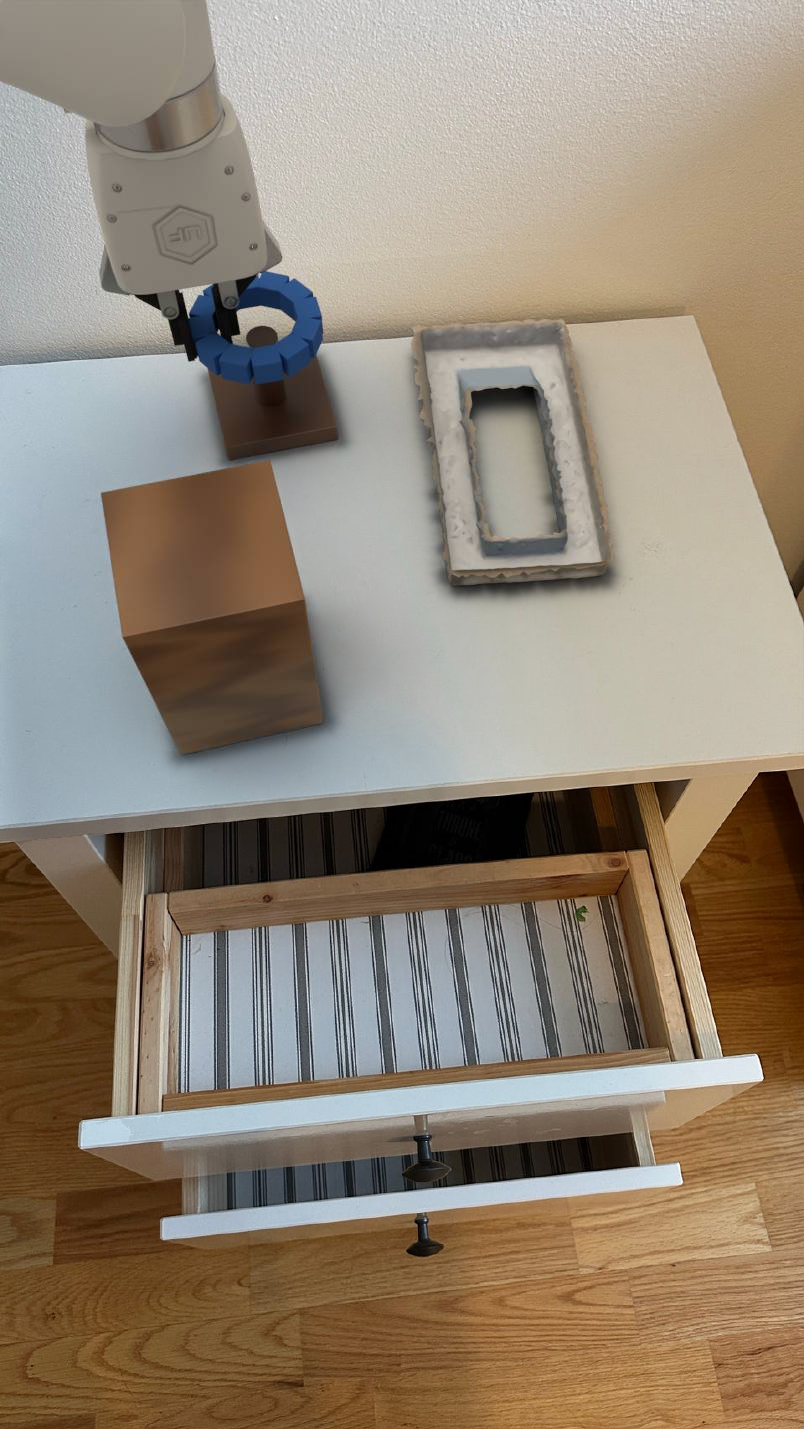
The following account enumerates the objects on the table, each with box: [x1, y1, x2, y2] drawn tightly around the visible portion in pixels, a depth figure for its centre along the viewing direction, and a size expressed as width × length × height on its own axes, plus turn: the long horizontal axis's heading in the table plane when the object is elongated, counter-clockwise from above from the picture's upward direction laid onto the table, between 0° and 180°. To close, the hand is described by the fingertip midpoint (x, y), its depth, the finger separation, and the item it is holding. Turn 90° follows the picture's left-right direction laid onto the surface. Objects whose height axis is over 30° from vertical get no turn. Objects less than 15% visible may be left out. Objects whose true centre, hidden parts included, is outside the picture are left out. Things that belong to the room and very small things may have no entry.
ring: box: [188, 270, 324, 385], centre depth 72 cm, size 10×10×2 cm
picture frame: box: [410, 318, 615, 586], centre depth 77 cm, size 13×25×3 cm, turn 6°
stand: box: [100, 459, 324, 756], centre depth 62 cm, size 10×10×16 cm
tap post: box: [206, 325, 339, 461], centre depth 77 cm, size 9×9×8 cm
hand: (208, 343), depth 73 cm, fingers closed on ring, 2 cm apart
